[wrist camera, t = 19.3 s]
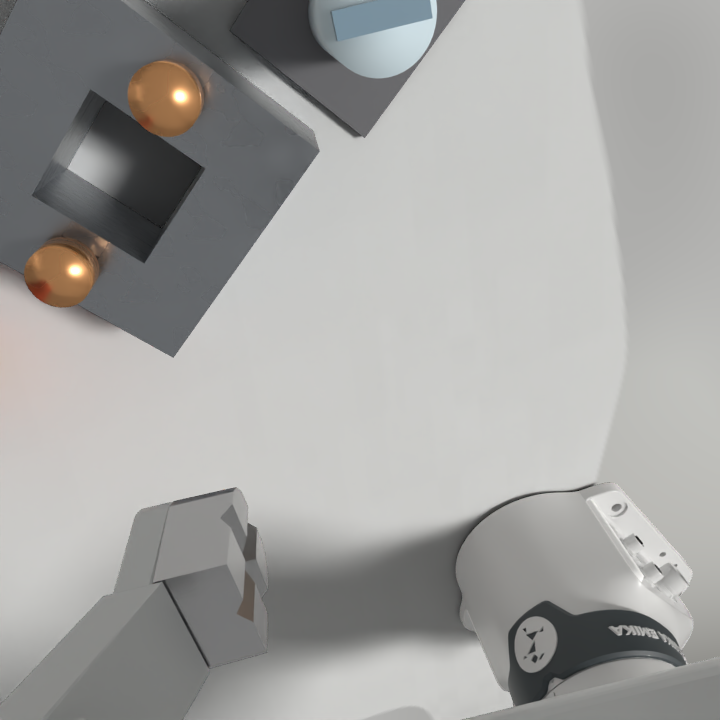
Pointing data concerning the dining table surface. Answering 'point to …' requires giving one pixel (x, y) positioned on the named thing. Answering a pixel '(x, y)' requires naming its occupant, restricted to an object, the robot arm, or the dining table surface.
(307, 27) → the pad
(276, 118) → the housing
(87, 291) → the copper knob
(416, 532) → the dining table surface
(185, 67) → the copper dome knob
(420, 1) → the cartridge
